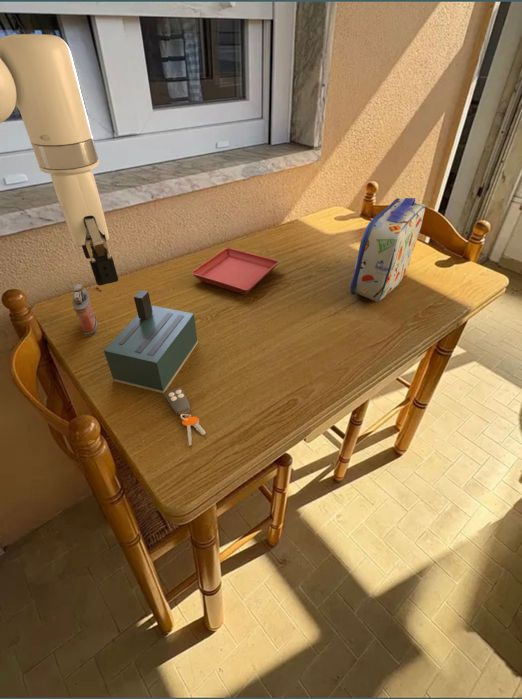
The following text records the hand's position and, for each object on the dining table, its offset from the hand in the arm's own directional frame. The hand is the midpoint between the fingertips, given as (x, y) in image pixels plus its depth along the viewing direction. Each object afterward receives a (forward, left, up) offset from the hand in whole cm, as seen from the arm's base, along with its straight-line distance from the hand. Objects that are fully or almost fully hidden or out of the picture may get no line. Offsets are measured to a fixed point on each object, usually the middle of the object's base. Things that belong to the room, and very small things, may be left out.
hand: (101, 268), depth 62 cm
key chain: (+15, -7, -24) cm, 29 cm away
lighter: (-18, +11, -24) cm, 32 cm away
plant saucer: (+7, +43, -24) cm, 50 cm away
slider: (0, +9, -16) cm, 18 cm away
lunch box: (+46, +52, -24) cm, 73 cm away
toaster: (+3, +5, -24) cm, 24 cm away
